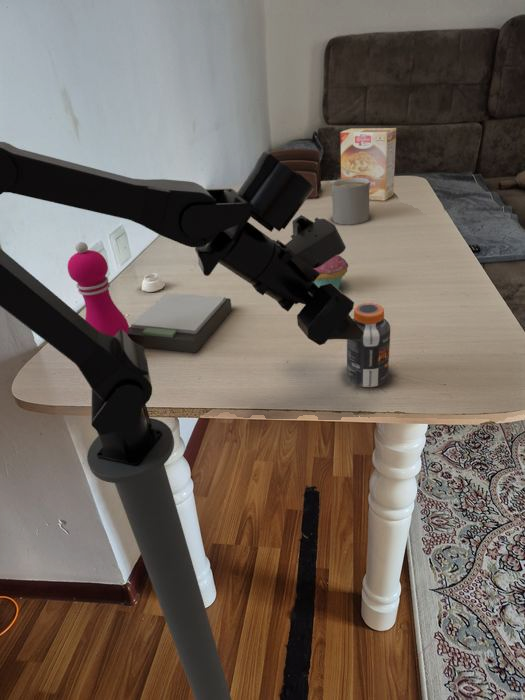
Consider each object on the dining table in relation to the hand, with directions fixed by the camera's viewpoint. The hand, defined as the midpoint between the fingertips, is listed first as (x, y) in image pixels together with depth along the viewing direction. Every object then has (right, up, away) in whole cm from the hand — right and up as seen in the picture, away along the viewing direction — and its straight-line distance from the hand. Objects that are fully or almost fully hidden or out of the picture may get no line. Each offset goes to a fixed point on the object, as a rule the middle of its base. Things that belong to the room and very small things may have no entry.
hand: (345, 320), depth 65 cm
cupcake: (+2, +8, +33) cm, 34 cm away
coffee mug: (+14, +34, +71) cm, 80 cm away
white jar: (-35, +10, +42) cm, 56 cm away
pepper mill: (-38, +4, +14) cm, 41 cm away
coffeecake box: (+22, +44, +87) cm, 100 cm away
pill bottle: (+4, -8, +6) cm, 11 cm away
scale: (-26, 0, +25) cm, 36 cm away
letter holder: (-2, +48, +98) cm, 109 cm away
